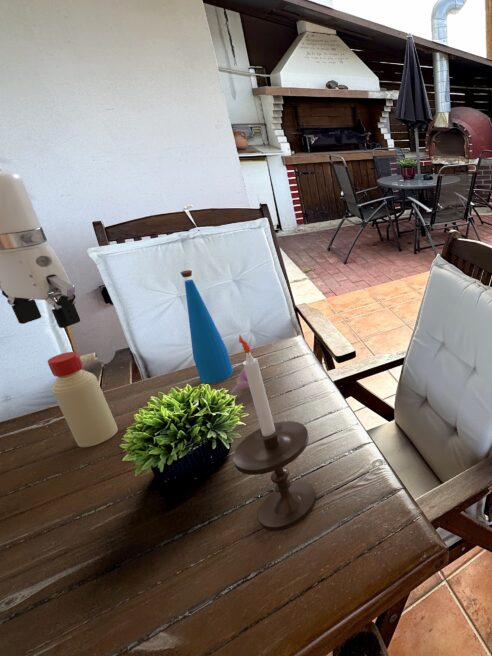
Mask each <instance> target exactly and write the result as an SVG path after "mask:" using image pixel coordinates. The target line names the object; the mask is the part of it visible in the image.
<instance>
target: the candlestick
mask: <svg viewBox="0 0 492 656" xmlns="http://www.w3.org/2000/svg"><path fill="white" fill-rule="evenodd" d="M238 337H239V338H238V343H241V347H242V348H243V351H244V352H245V356H246V357H245V360H244V361H243V362H242V365H243V369H245V372H246V376H247V380H248V384H249V387H248V388H249V390H250V391H249V392H250V394H251V398H252V401H253V405H254V409H255V413H256V416H257V420H258V424H259V427H260V428H258V429H256V430H255V431H253V432H252V433H250V434H249V435H247V436H246V437H245V438H243V439H242V441H240V443H239V444H238V445H237V446H236V448H235V450H234V452H233V456H232V457H233V458H232V459H233V463H234V466H235V468H236V470H237V471H238V472H240V473H242V474H243V475H244V474H245V475H249V476H257V475H258V476H259V475H264V474H269V473H271V476H270V481H271V482H272V483H274V484H275V485H274V491H272V492H271V493H270V494H269V495H268V496H267V497H266V498H265V499H264V500H263V502H262V503H261V505H260V506H259V508H258V509H259V510H258V512H257V513H258V514H257V517H258V520H259V523H260V525H261V527H262V528H263V529H265V530H267V531H271V532H276V531H283V530H286V529H289V528H292V527H294V526H296V525H297V524H299V523H300V522H301V521H303V520H304V519H305V518H306V517H308V516H309V514H310V513H311V512H312V511H313V509H314V507H315V504H316V501H317V495H316V494H317V493H316V490H315V488H314V486H313V485H312V484H310V483H307V482H304V481H296V482H291V479H288V478H289V476H290V470H289V468H287V467H286V466H288V465H290V464H291V463H292V462H294V461H295V460H296V459H297V458H299V457H300V456H301V454H303V452H304V451H305V449H306V448H307V446H308V444H309V440H310V437H309V432H308V429H307V427H306V426H305V425H304V424H303V423H300V422H298V421H293V420H291V421H290V420H286V421H285V420H284V421H278V422H274V419H273V415H272V411H271V408H270V404H269V399H268V396H267V391H266V389H265V388H266V387H265V385H264V380H263V377H262V373H261V369H260V365H259V361H258V360H257V359H258V358H255V357H253V356H252V354H251V348H250V347H251V346H250V345H249V344H248V342H247V341H246V340H245V339H243V337H242V336H241V334H239V335H238Z"/></svg>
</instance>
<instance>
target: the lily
mask: <svg viewBox="0 0 492 656" xmlns="http://www.w3.org/2000/svg"><path fill="white" fill-rule="evenodd" d="M256 359H257V361H258V360H259V359H260V358H259V357H258V358H256ZM234 380H235V381H236V385H235V386H234V387H233V388H232V390H231V391H230V393H229V394H228V395H231V396H232V395H233V394H234V393H235V392H238V391H240V390H243V389H246V388H250V387H249V384H248V380H247V376H246V372H245V369H244V368H243V369H242V370H241V372H240V373H239V375H238V376H237V377H236V378H235V379H234Z"/></svg>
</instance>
